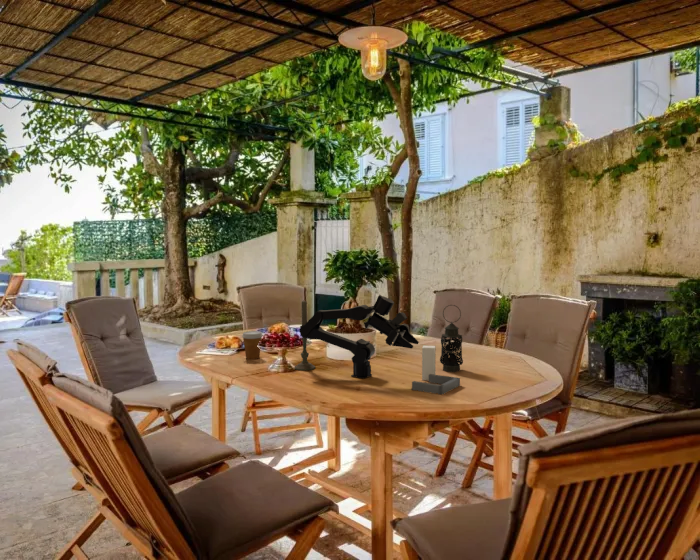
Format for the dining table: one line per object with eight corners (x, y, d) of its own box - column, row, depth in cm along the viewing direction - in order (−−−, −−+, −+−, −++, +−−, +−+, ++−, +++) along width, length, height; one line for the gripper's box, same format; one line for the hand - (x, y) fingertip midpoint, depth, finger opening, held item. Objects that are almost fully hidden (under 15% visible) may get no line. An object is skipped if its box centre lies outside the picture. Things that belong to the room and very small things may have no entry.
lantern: (463, 368, 256) (464, 303, 254) (462, 373, 248) (462, 306, 246) (441, 367, 259) (441, 303, 257) (438, 371, 250) (438, 305, 248)
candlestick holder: (302, 365, 265) (301, 298, 263) (319, 367, 261) (318, 299, 258) (290, 369, 258) (289, 300, 255) (307, 371, 253) (306, 301, 251)
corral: (412, 389, 222) (412, 381, 222) (430, 381, 234) (430, 373, 234) (442, 394, 215) (442, 386, 214) (459, 385, 227) (459, 378, 227)
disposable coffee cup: (239, 357, 283) (238, 332, 282) (257, 354, 289) (256, 330, 288) (248, 360, 276) (247, 335, 275) (266, 358, 281) (266, 332, 280)
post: (422, 380, 236) (422, 347, 235) (422, 377, 241) (423, 345, 240) (434, 380, 235) (434, 348, 234) (435, 377, 240) (435, 345, 239)
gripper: (385, 310, 228) (420, 331, 224) (397, 305, 246) (430, 324, 242) (371, 335, 231) (406, 356, 227) (385, 327, 248) (417, 347, 244)
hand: (415, 345), depth 235 cm, fingers open, 9 cm apart
